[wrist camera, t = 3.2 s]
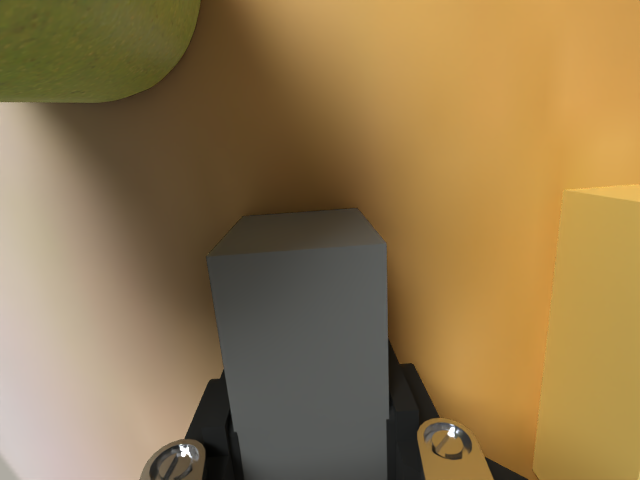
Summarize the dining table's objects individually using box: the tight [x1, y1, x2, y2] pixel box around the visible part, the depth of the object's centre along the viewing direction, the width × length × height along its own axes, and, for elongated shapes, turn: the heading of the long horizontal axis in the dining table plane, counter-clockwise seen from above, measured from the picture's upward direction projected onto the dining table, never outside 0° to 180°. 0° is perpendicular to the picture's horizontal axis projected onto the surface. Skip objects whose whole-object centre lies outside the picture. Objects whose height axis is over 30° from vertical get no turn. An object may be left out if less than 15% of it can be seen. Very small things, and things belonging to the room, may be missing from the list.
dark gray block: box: [206, 208, 389, 480], centre depth 10 cm, size 11×4×4 cm, turn 4°
